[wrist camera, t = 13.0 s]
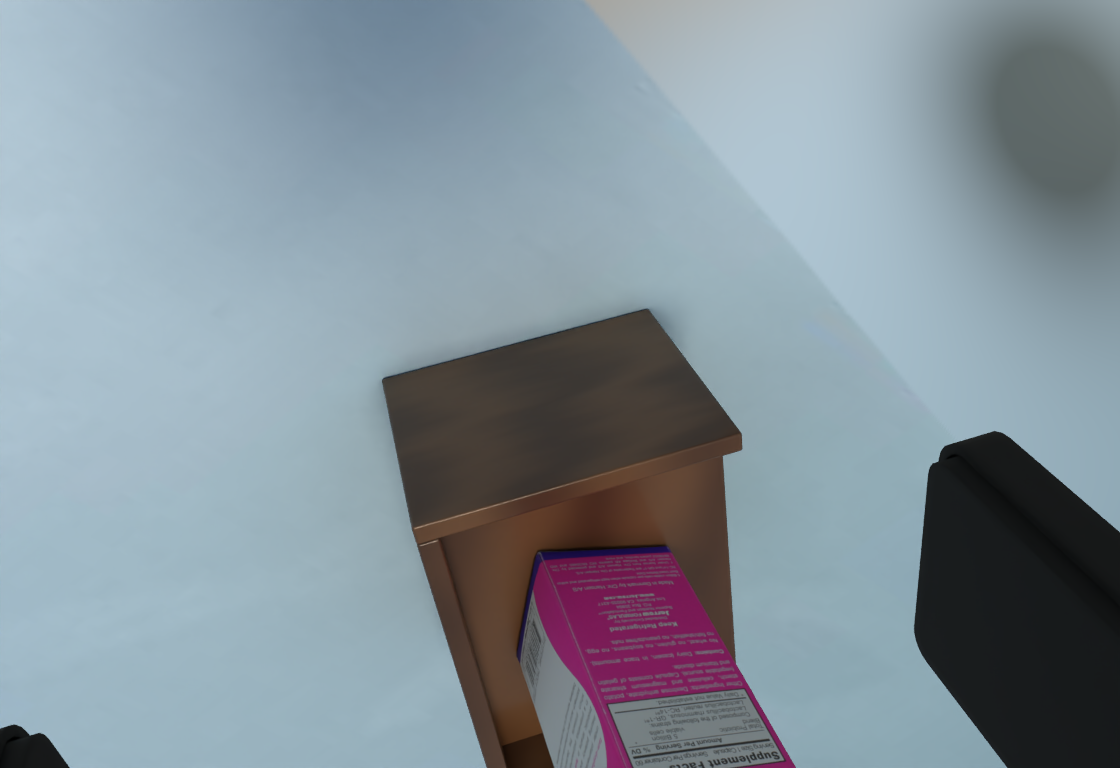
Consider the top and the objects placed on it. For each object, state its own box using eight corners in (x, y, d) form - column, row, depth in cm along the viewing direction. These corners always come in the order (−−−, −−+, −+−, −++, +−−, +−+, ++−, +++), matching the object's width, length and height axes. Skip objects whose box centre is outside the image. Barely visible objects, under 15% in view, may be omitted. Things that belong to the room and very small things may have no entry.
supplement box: (645, 645, 41) (758, 897, 32) (513, 655, 39) (591, 926, 30) (675, 541, 38) (809, 784, 29) (534, 547, 37) (628, 808, 27)
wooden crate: (648, 308, 42) (742, 433, 34) (676, 566, 51) (756, 716, 42) (381, 378, 40) (411, 528, 32) (458, 633, 49) (497, 802, 41)
